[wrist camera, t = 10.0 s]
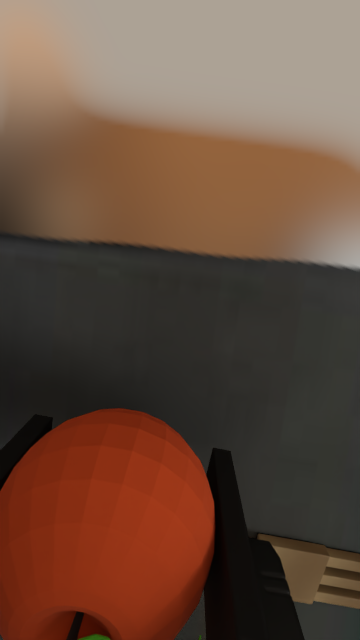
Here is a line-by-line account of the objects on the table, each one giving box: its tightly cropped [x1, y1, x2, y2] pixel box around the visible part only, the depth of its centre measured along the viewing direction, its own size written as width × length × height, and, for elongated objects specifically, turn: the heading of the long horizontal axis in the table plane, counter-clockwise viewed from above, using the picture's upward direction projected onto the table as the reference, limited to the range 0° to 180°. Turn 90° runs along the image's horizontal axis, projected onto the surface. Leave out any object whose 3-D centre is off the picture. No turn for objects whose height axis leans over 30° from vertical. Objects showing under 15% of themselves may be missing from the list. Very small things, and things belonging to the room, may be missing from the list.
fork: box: [257, 533, 360, 609], centre depth 17 cm, size 24×4×1 cm, turn 79°
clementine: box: [0, 408, 216, 640], centre depth 10 cm, size 8×7×7 cm
